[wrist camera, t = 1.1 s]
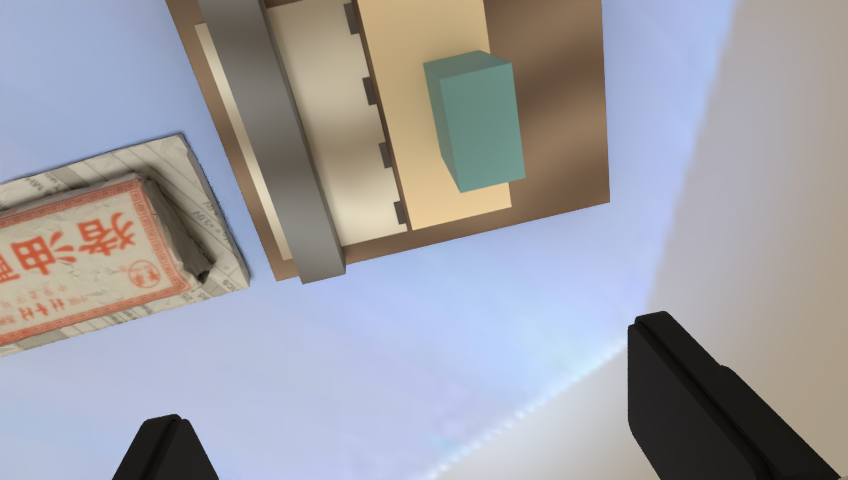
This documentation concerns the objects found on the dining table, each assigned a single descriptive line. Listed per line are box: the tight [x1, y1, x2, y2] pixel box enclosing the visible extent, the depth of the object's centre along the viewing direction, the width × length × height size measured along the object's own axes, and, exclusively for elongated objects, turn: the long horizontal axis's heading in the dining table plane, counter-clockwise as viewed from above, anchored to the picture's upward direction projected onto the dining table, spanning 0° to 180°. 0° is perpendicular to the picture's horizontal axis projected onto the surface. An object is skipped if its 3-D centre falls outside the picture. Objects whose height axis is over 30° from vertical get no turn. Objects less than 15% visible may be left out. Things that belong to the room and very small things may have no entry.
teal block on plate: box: [357, 0, 526, 230], centre depth 24 cm, size 13×6×6 cm, turn 12°
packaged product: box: [0, 134, 250, 357], centre depth 28 cm, size 18×5×10 cm
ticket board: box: [165, 0, 610, 284], centre depth 27 cm, size 16×21×4 cm
